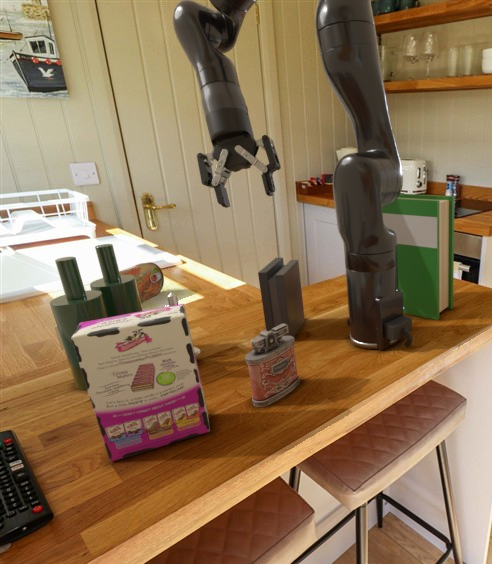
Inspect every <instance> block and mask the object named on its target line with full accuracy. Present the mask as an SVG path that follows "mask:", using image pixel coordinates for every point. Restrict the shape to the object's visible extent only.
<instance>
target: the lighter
mask: <svg viewBox="0 0 492 564" xmlns="http://www.w3.org/2000/svg"><path fill="white" fill-rule="evenodd" d="M288 332H289V331H288V325H286V324H281V325H279V326H277V327H274V328H272V330H270V331H266V329H263V330H261V331H259V334H258V336H255V337H254V338H252V339H250V343H251V347H252V350H251V351H249V352H248V353H247V354H245V356H244V359H245V362H246V364H247V368H248V374H249V380H250V387H251V392H252V397H251V401H252V405H253V406H254V407H257V408H264V407H267V406H269V405H271V404H273V403H275V402H278V401H279V400H280V399H282V398H284V397H285V396H286V395H288V394H289V393H291V392H292V391H293V390H295V389H296V387H298V386H299V385H300V382H301V381H300V376H299V375H298V367H297V360H296V350H295V344H296V341H295V339H296V338H295V336H294V337H292V336H282V335H284V334H286V333H288Z"/></svg>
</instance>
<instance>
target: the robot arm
mask: <svg viewBox="0 0 492 564" xmlns="http://www.w3.org/2000/svg"><path fill="white" fill-rule="evenodd" d="M208 1H209V2H210V4H211V5H212V6H213V7H214V8H215V9H214V8H212V7H209V6H207V5H204V4H202V3H200V2H198V1H196V0H180V1H178V2H177V4H175V6H174V8H173V11H172V26H173V27H172V28H173V31H174V34H175V36H176V39H177V41H178V43H179V45H180V47H181V49H182V50H183V52H184V54H185V56H186V58H187V60H188V61H189V63H190V65H191V67H192V69H193V71H194V72H195V76H196V80H197V84H198V88H199V93H200V99H201V107H202V111H203V114H204V118H205V123H206V126H207V131H208V136H209V139H210V142H211V145H212V151H211V152H209V153H203V152H198V153H197V154H196V159H197V166H198V170H199V176H200V182H201V185H203V186H204V187H208V188H210V189H214V193H215V196H216V201H217V203H218V205H221V207H222V208H225V209H227V208H231V203H230V199H229V195H228V190H227V188H226V187H225V186H226V184H227V181H228V179H230V177H231V175H232V173H233V172H234V173H237V172H240V171H242V170H249V169H251V167H252V166H254V167H255V168H256V169H258V170H259V171H261V173H262V174H261V180H262V184H263V187H264V192H265V194H266V196H267V197H273V196H274V193H276V186H275V181H274V176H273V175H274V173H275V172H276V171H279V170H281V168H282V166H281V163H280V159H279V156H278V153H277V150H276V147H275V143H274V140H273V139H272V138H271V137H269V136H268V135H267V134H263V135H262V136H261V138H259V139H255V136H254V132H253V127H252V124H251V120H250V115H249V108H248V106H247V103H246V99H245V97H244V95H243V92H242V90H241V84H240V81H239V77H238V72H237V69H236V66H235V64H234V62H233V61H232V60H231V58H230V57H229V56H227V55H225V54H226V53H229V52H230V51H231V50H233V49H234V47H235V45H236V43H237V40H238V37H239V34H240V31H241V28H242V25H243V23H244V20H245V18H246V16H247V13H248V12H249V11H250V10H251V8H252V7H253V6H254V4H255V3H256V2H257V1H258V0H208ZM316 1H317V2H316V6H315V11H314V29H315V36H316V42H317V48H318V53H319V58H320V62H321V67H322V71H323V73H324V75H325V77H326V79H327V81H328V85H330V87H331V89H332V91H333V92H334V94H335V96H336V98H337V100H338V101H339V103H340V105H341V106H342V108H343V110H344V112H345V113H346V115H347V117H348V120H349V123H350V124H351V125H350V126H351V128H352V132H353V136H354V140H355V147H356V152H351V153H347V154H345V155H343V156H342V157H341V158H339V160H338V161H337V162H336V163H335V167H334V169H333V173H332V195H333V203H334V209H335V211H334V212H335V218H336V226H337V230H338V233H339V236H340V238H341V240H342V242H343V251H344V264H345V265H344V266H345V280H346V282H345V283H346V294H347V295H346V296H347V306H348V307H347V309H348V318H347V319H346V327H347V329H348V328H349V340H350V342H351V344H353V346H356V347H358V348H362V349H370V350H379V351H384V350H386V349H388V348H390V347H391V346H394V345H395V344H397V343H399V342H400V341H402V340H404V339H405V337H406V341H405V343H404V346H405V347H406V348H410V346H411V345H412V343H413V335H412V334H411V333H412V332H413V318H412V317H409V316H406V315H405V313H404V311H403V309H404V307H403V291H402V290H399V289H398V257H397V235H396V233H395V231H394V230H392V229H390V228H387V227H386V226H385V225H384V221H383V213H382V206H385V205H389V204H391V203H393V202H394V201H395V200H396V199H397V198H398V197H399V195H400V194H402V190H403V185H404V174H403V166H402V162H401V158H400V154H399V150H398V147H397V144H396V139H395V135H394V132H393V131H394V130H393V128H392V127H393V126H392V123H391V118H390V113H389V107H388V101H387V96H386V95H387V94H386V90H385V83H384V76H383V72H382V71H383V70H382V66H381V65H382V64H381V56H380V49H379V41H378V36H377V30H376V23H375V19H374V13H373V8H372V1H371V0H316ZM259 149H262V150H263V151H265V154H266V156H267V160H268V164H264V162H262V161H261V160H260V159H258V158H257V155H258V152H259ZM214 161H216V162H217V164H216V167H215V169H214V173H213V168H212V166H214Z"/></svg>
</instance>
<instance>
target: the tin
mask: <svg viewBox="0 0 492 564" xmlns="http://www.w3.org/2000/svg"><path fill="white" fill-rule="evenodd" d="M119 272H120V275H132V276H134V277H135V280H136V284H137V288H138V292H139V296H140V300H141V303H143V302H145V301H146V300H149V299H151V298H153V297H156V296H157V295H159V294H160V293H161V291H162V289H163V288H164V285H165V277H164V272H163V271H162V269H161V267H160V266H159V265H158V264H156V263H154V262H144V263H143V262H142V263H138V264H135V265H133V266H130V267H127V268H125V269H123V270H119Z"/></svg>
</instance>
